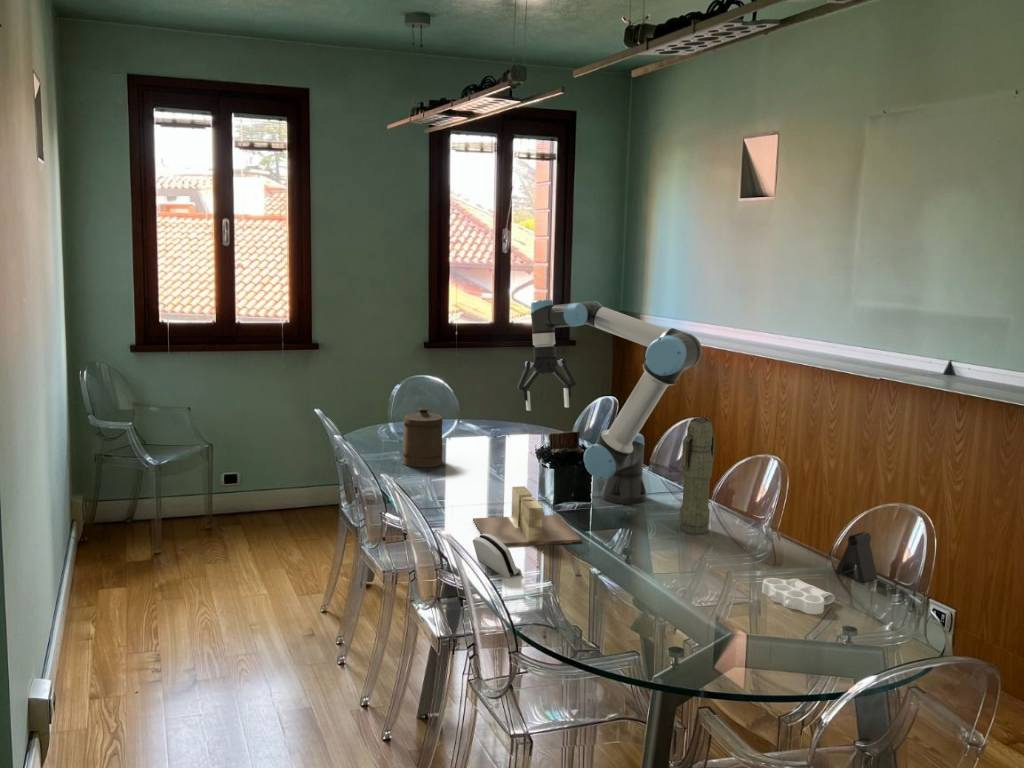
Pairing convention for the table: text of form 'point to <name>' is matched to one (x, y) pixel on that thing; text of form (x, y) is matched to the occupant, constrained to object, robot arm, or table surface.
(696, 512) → the stone statue
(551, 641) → the table surface
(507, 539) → the mounting board
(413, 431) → the wooden container
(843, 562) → the phone stand
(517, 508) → the tan wooden brick
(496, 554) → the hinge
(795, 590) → the white egg tray
